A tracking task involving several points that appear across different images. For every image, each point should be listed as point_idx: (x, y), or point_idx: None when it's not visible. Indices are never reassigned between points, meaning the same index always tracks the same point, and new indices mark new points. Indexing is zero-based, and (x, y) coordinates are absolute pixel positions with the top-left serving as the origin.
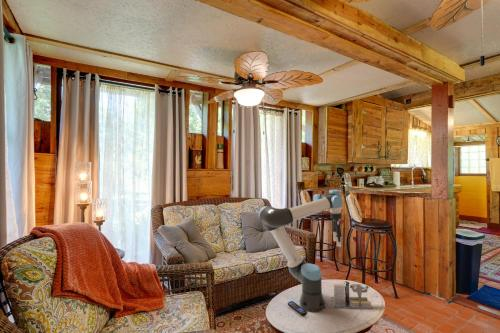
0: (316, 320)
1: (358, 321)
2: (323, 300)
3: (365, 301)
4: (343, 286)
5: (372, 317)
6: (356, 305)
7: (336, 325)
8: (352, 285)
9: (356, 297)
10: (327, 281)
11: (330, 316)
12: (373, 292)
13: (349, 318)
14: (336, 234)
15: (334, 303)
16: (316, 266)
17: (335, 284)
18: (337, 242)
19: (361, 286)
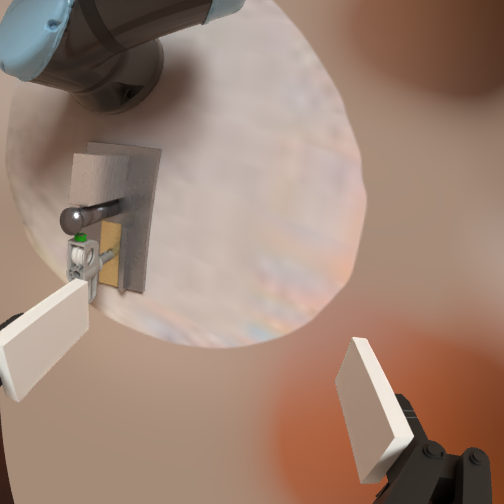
0: None
1: (25, 199)
2: (80, 102)
3: (111, 275)
4: (70, 199)
5: (41, 250)
6: (87, 229)
7: (16, 130)
8: (85, 248)
9: (120, 251)
10: (345, 198)
11: (50, 120)
12: (199, 344)
13: (36, 178)
14: (357, 442)
15: (104, 150)
16: (22, 47)
17: (86, 165)
18: (46, 306)
19: (70, 280)
